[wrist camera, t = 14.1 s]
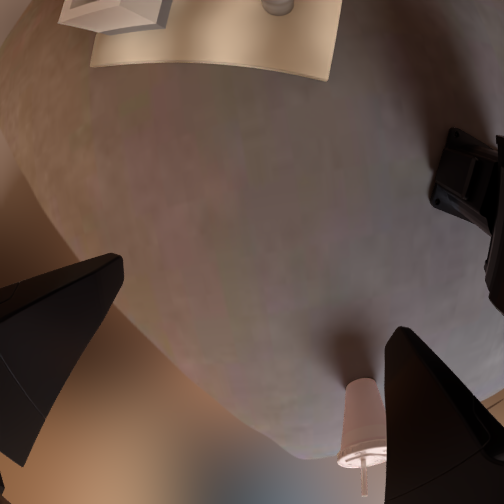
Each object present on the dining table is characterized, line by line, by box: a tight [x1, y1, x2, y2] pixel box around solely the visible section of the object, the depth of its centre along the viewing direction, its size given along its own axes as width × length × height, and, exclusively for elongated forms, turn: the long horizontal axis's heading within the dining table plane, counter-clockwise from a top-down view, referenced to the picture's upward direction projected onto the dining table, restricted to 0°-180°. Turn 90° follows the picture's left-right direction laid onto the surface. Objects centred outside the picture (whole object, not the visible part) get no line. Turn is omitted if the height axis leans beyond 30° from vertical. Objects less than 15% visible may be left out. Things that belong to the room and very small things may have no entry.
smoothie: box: [337, 378, 387, 497], centre depth 22 cm, size 6×6×14 cm
